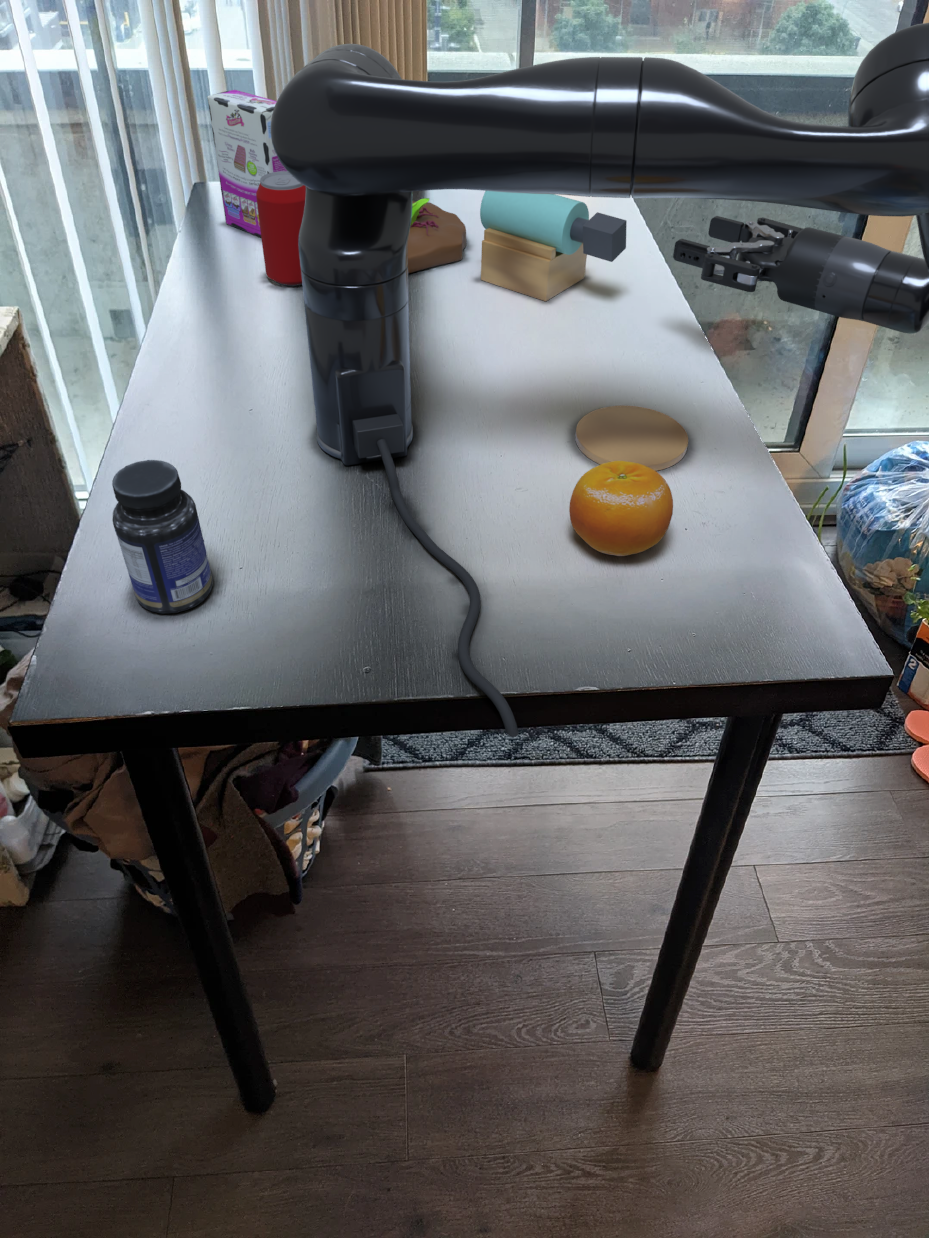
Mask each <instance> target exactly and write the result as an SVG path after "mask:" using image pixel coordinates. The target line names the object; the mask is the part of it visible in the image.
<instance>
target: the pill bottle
mask: <svg viewBox="0 0 929 1238" xmlns="http://www.w3.org/2000/svg"><path fill="white" fill-rule="evenodd" d="M111 481H112V483H111V485H112V490H113V493H114V497H115V500H116V505H115V506H114V508H113V511H112V520H111V521H112V524H113V529H114V532H115V535H116V537H117V541H118V544H119V547H120V551H121V553H122V557H123V560H124V564H125V567H126V570H127V574H128V576H129V580H130V584H131V586H132V590H133V593H134V596H135V598H136V601H137V602H138V604H140V606H142V608H144V609H146V610H148V611H150V612H152V613H156V614H157V613H158V614H175V613H180V612H183V611H187V610H190V609H192V608H195V607H196V606H198V605H199V604H201V603H203V602H204V601H205V599H207V598H208V596H209V595H210V593H211V592H212V588H213V585H214V581H213V580H214V579H213V575H212V571H211V567H210V562H209V558H208V552H207V549H206V545H205V541H204V536H203V532H202V528H201V522H200V519H199V515H198V510H197V504H196V502H195V500H194V499H193V498H192V496H191V495H190V494H188V493H187V492H186V491H185V490H184V489H182V482H181V478H180V475H179V471H178V469H177V468H176V467H175V466H174V465H173V464H172V463H170V462H167V461H164V460H158V459H146V460H140V461H135V462H133V463H130V464H127V465H125V466H124V467H123V468H120V469H119V470H118V471H117V472H116V473H115V474H114V476H113V478H112V480H111Z"/></svg>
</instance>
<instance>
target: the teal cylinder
mask: <svg viewBox="0 0 929 1238" xmlns="http://www.w3.org/2000/svg"><path fill="white" fill-rule="evenodd" d="M479 217H480V218H479V219H480V222H481V225H482V228H484V230H486V229H488V228H491V229H494V230H497V231H501V232H504V233H507V234H511V235H514V236H517V237H521V238H524V239H527V240H530V241H534V242H537V243H540V244H544V245H547V246H550V247H554V248H556V251H557V252H560V253H564V254H567V255H571V254H573V253H575V252H576V251H577V250H578V249H579V247H580V246H581V244H582V243H583V253H584V254H587V256H591V257H593V258H597V259H599V260H603V261H607V262H609V263H613V262H614V261H615V260H616V259H617V258H618V257H619V256H620V255H621V254H622V253H623V252H624V251H625V250H626V249H627V224H628V223H627V220H626V219H623V218H619V217H616V216H612V215H609V214H606V213H602V212H596V213H595V214H593V216H591V217H590V212H589V207H588V205H587V204H586V203H585V202H584V201H581V200H576V199H573V198H569V197H566V196H563V195H559V194H532V193H510V192H494V191H484V193H483V196H482V199H481V203H480V209H479Z"/></svg>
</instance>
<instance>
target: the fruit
mask: <svg viewBox="0 0 929 1238" xmlns="http://www.w3.org/2000/svg"><path fill="white" fill-rule="evenodd" d="M568 507H569V508H568V509H569V511H568V512H569V513H568V514H569V519H570V524H571V526H572V528H573V529H574V531H575V533H576V534H577V535H578V536H579V538H581V539H582V540H583V541H584V542H585V543H586V544H587V545H588V546H589V547H591V548H592V549H594V550H595V551H597V552H599V553H602V554H605V555H610V556H616V557H626V556H630V555H636V554H639V553H642V552H645V551H646V550H649V549H650V548H653V547H654V546H656V545H657V544H659V542H660V541H661V540H662V539H663V538H664V536H665V535H666V533H667V531H668V529H669V527H670V524H671V521H672V518H673V515H674V514H673V513H674V512H673V511H674V498H673V493H672V490H671V488H670V486H669V484H668V482H667V481H666V479H665V478H664V477H663V476H662V475H661V474H660V473H659V472H658V471H655V470H653V469H651V468H649V467H647V466H645V465H642V464H639V463H634V462H627V461H612V462H607V463H604V464H598V465H597V466H594V467H592V468H590V469H589V470H587V471H586V472H584V474H583V475H582V476H580V478H579V480H577V482H576V484H575V486H574V488H573V491H572V494H571V496H570V501H569V506H568Z"/></svg>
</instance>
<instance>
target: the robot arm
mask: <svg viewBox="0 0 929 1238" xmlns="http://www.w3.org/2000/svg"><path fill="white" fill-rule="evenodd" d="M276 101H277V102H276V104H275V107H274V110H273V113H272V118H271V139H272V144H273V147H274V150H275V152H276V155H277V157H278V159H279V161H280V162H281V164H282V165H283V166H284V168H285V169H286V170H287V172H288V173H289V174H291V175H292V176H293V177H294V178H295V179H296V180H297V181H298V182H300V183H301V184H303V185H304V186H306V196H305V206H304V213H303V218H302V223H301V227H300V231H299V237H298V247H299V257H300V266H301V276H302V295H303V305H304V306H303V307H304V315H305V316H304V317H305V323H306V324H305V326H306V336H307V346H308V355H309V356H308V357H309V363H310V365H309V366H310V376H311V384H312V385H311V386H312V394H313V404H314V412H315V422H316V423H315V424H316V429H315V431H316V442H317V444H318V446H319V447H320V448H321V450H322V451H323V452H325V453H327V454H328V455H330V456H332V457H334V458H337V459H339V460H341V461H342V464H343V465H344V466H351V465H353V466H354V465H358V464H364V463H371V462H378V461H382V463H383V466H384V469H385V472H386V475H387V480H388V485H389V490H390V494H391V497H392V500H393V503H394V505H395V507H396V509H397V511H398V513H399V516H400V517H401V519H402V521H403V522H404V524H405V525H406V526H407V528H408V529H409V530H410V531H411V533H413V534H414V536H415V537H416V538H417V539H418V540H419V542H420V543H421V544H422V545H423V547H424V548H425V549H426V550H427V551H428V552H429V553H430V554H431V555H432V556H433V557H434V558H436V559H437V560H438V561H439V562H440V563H442V564H443V565H444V566H445V567H447V568H448V569H449V570H450V571H451V572H452V573H454V574H455V575H456V576H457V577H458V578H459V579H460V580H461V582H462V583H463V585H464V587H465V589H466V591H467V592H468V593H467V594H468V597H469V607H468V611H467V614H466V617H465V619H464V621H463V624H462V627H461V629H460V632H459V635H458V641H457V657H458V662H459V665H460V668H461V670H462V671H463V673H464V674H465V676H466V677H467V678H468V679H469V681H471V683H473V685H474V686H476V687H477V688H478V689H479V690H480V691H481V692H483V693H484V695H486V696H487V698H488V699H489V700H490V701H491V702H492V703H493V705H494V707H495V708H496V710H497V711H498V714H499V716H500V719H501V720H502V723H503V727H504V730H505V733H506V735H507V736H508V737H511V738H517V737H518V735H519V728H518V724H517V720H516V718H515V715H514V713H513V711H512V709H511V706H510V705H509V703H508V701H507V700H506V698H505V697H504V696H503V694H502V693H501V692H500V691H499V689H498V688H496V687H495V685H493V683H491V682H490V681H489V680H488V679H487V678H486V677H485V676H484V675H482V674H481V672H479V671H478V670H477V668H476V667H475V665H474V663H473V660H472V658H471V655H470V641H471V638H472V634H473V632H474V629H475V626H476V624H477V621H478V619H479V616H480V611H481V603H482V602H481V601H482V600H481V592H480V590H479V587H478V584H477V582H476V581H475V579H474V578H473V576H472V575H471V574H470V573H469V571H468V570H466V569H465V568H464V566H462V565H461V564H460V563H459V562H458V561H457V560H455V559H454V558H453V557H451V556H450V555H449V554H448V553H447V552H445V551H444V550H443V549H441V548H440V546H439V545H438V544H436V543H435V541H433V539H432V538H431V536H429V535H428V533H427V532H426V531H425V530H424V529H423V528H422V527H421V525H420V524H419V523H418V522H417V520H415V517H414V516H413V515H412V514H411V512H410V510H409V507H408V506H407V504H406V502H405V499H404V497H403V494H402V492H401V487H400V481H399V478H398V474H397V469H396V466H395V463H394V460H393V459H396V458H402V457H406V456H408V447H409V446H410V444H411V443H412V441H413V437H414V426H413V423H412V421H413V420H412V392H411V391H412V390H411V389H412V388H411V350H410V345H411V344H410V310H409V309H410V308H409V307H410V306H409V305H410V304H409V302H410V301H409V296H410V295H409V273H408V239H409V232H410V226H411V219H412V201H413V193H414V192H425V191H426V192H427V191H439V190H440V191H441V190H466V191H467V190H469V191H470V190H471V191H483V192H485V191H494V192H510V193H532V194H555V195H559V196H574V197H586V198H615V199H616V198H618V199H630V198H632V199H661V198H662V199H664V198H665V199H669V198H670V199H672V198H673V199H674V198H676V199H701V200H702V199H704V200H727V201H740V202H741V201H743V202H755V203H756V202H758V203H767V204H775V205H776V204H777V205H785V206H792V207H801V208H807V209H814V210H821V211H829V212H837V213H838V212H839V213H844V214H853V215H863V216H871V217H872V216H873V217H916V223H917V229H918V235H919V240H920V241H919V242H920V247H921V252H922V255H923V258H921V257H918V256H915V255H911V254H907V253H903V252H898V251H894V250H891V249H888V248H885V247H883V246H880V245H878V244H875V243H872V242H869V241H866V240H862V239H858V238H855V237H850V236H846V235H842V234H838V233H834V232H831V231H827V230H822V229H818V228H814V227H810V226H808V227H804V228H803V227H799V226H796V225H791V224H788V223H785V222H782V221H781V222H780V221H777V220H773V219H770V218H766V217H757V219H756V221H754V220H747V221H745V222H744V221H739V220H735V219H731V218H729V217H728V218H727V217H724V216H719V215H715V216H713V217H712V218H711V219H710V222H709V227H708V232H707V233H708V236H709V237H710V238H713V239H716V240H720V241H724V242H727V243H729V244H728V246H710V245H707V244H704V243H700V242H696V241H692V240H689V239H685V238H680V239H678V240H676V241H675V243H674V247H673V254H672V257H673V260H674V261H675V262H678V263H682V264H686V265H689V266H693V267H696V268H700V269H701V274H700V275H701V276H700V280H701V281H703V282H708V283H712V284H716V285H720V286H724V287H727V288H731V289H735V290H739V291H743V292H747V293H754V292H755V291H756V288H757V284H758V282H769V283H773V284H775V287H776V294H777V297H778V299H780V300H781V301H782V302H786V303H789V304H793V305H796V306H799V307H804V308H807V309H810V310H814V311H817V312H820V313H824V314H828V315H831V316H835V317H837V318H842V319H848V320H855V321H860V322H865V323H867V324H868V323H869V324H872V325H874V326H878V327H882V328H885V329H889V330H891V331H892V330H893V331H896V332H899V333H901V334H902V333H903V334H908V335H909V334H910V335H913V334H917V333H919V332H922V330H924V328H925V327H926V326H927V325H928V324H929V22H924V23H917V24H914V25H911V26H908V27H907V26H906V27H904V28H901V29H899V30H897V31H895V32H893V33H891V34H889V35H888V36H886V37H885V38H883V39H882V40H880V41H879V42H877V44H876V45H875V46H874V47H872V48H871V49H870V50H869V51H868V53H867V54H866V55H865V57H864V58H863V59H862V60H861V62H860V65H859V67H858V68H857V71H856V72H855V75H854V78H853V81H852V85H851V90H850V94H849V99H848V107H847V108H848V109H847V123H846V125H847V126H841V125H840V126H839V125H828V124H817V123H806V122H800V121H794V120H791V119H787V118H784V117H780V116H777V115H774V114H772V113H770V112H768V111H765V110H763V109H761V108H760V107H758V106H756V105H754V104H752V103H751V102H749V101H747V100H746V99H744V98H743V97H741V96H740V95H738V94H736V92H733V91H732V90H731V89H728V88H727V87H725V86H724V85H722V84H720V83H719V82H718V81H716V80H714V79H713V78H711V77H709V76H707V75H706V74H704V73H703V72H700V71H699V70H697V69H695V68H693V67H690V66H688V65H686V64H683V63H681V62H679V61H676V60H673V59H669V58H662V57H651V56H645V57H644V58H643V57H641V56H638V57H637V56H587V57H586V56H585V57H575V58H574V57H573V58H565V59H559V60H553V61H547V62H542V63H538V64H533V65H528V66H525V67H524V66H523V67H519V68H514V69H511V70H506V71H503V72H498V73H495V74H494V73H493V74H490V75H486V76H480V77H477V78H470V79H464V80H451V81H450V80H449V81H433V80H432V81H428V80H416V79H415V80H414V79H404V78H402V76H401V75H400V73H399V72H398V71H397V69H396V68H395V66H394V65H393V64H392V62H391V61H390V60H388V58H386V57H385V56H384V55H383V54H381V53H380V52H379V51H377V50H375V49H373V48H371V47H369V46H367V45H363V44H357V43H343V44H337V45H334V46H332V47H331V46H330V47H329V48H327V49H325V50H323V51H322V52H320V53H319V54H317V55H315V57H314V58H313V59H311V60H310V61H309V62H307V63H306V64H305V65H304V66H303V67H302V68H301V69H300V70H298V71H297V72H296V73H295V74H294V75H293V77H292V78H291V79H290V80H289V81H288V82H287V83H286V84H285V86H284V87H283V89H282V90H281V92H280V94H279V96H278V98H277V99H276Z"/></svg>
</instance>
